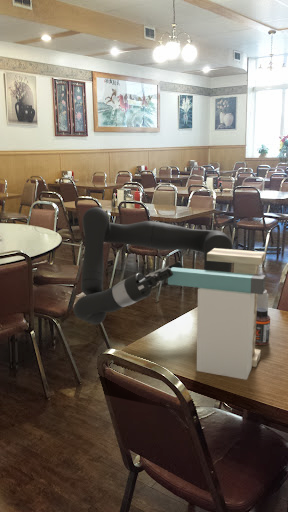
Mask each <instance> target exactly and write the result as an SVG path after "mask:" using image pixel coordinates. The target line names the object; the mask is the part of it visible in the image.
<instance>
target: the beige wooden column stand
mask: <svg viewBox="0 0 288 512" xmlns="http://www.w3.org/2000/svg"><path fill="white" fill-rule="evenodd" d="M265 260H266V251H258V250H257V251H255V250H247V249H246V250H245V249H244V250H243V249H233V248H232V249H218V248H214V249H212V250H211V251H210V252H209V253H207V261H217V262H229V263H232V264H233V263H234V265H233V273H244V274H258V275H259V268H260V267H259V266H261V265H262V264H263V262H264V261H265ZM256 316H257V294H255V298H254V321H253V344H252V367H254V368H256V367H257V365H258V363H259V361H260V359H261V355H262V354H261V353H262V352H261V351H262V349H259V348H256V345H255V338H256Z"/></svg>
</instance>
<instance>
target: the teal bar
mask: <svg viewBox="0 0 288 512" xmlns="http://www.w3.org/2000/svg"><path fill="white" fill-rule="evenodd" d="M171 271H172V273H173V275H172V276H171V277H169V278H167V285H168V286H169V285H171V286H179V287H189V288H198V289H199V288H208V289H217V290H227V291H237V292H246V293H254V294H263V292H264V291H265V290H266V275H265V274H259V273H258V274H244V273H234V272H232V271H231V272H221V271H210V270H204V269H198V268H197V269H195V268H186V267H185V268H184V267H183V268H176V267H172V268H171Z"/></svg>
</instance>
